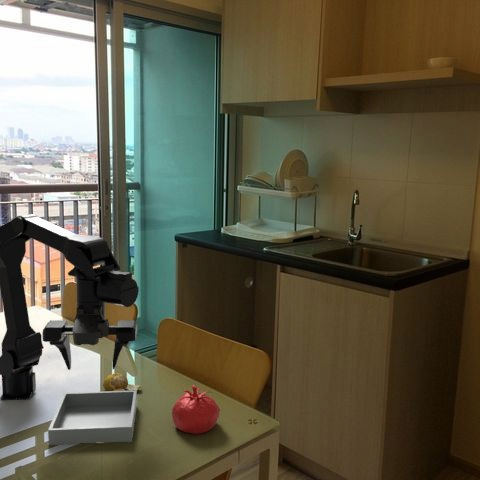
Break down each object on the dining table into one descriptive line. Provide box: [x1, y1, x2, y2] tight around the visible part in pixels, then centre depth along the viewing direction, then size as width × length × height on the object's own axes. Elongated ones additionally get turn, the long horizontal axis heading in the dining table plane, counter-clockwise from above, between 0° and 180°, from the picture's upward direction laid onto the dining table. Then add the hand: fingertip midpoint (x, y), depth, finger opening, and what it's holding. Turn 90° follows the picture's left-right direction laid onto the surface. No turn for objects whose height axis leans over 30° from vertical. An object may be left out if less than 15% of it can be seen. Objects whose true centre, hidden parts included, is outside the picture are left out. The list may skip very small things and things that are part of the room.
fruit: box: [102, 372, 142, 391], centre depth 130 cm, size 8×8×4 cm
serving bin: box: [47, 390, 138, 446], centre depth 114 cm, size 16×16×4 cm
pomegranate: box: [171, 384, 221, 435], centre depth 114 cm, size 10×10×9 cm
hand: (91, 368), depth 115 cm, fingers open, 9 cm apart
